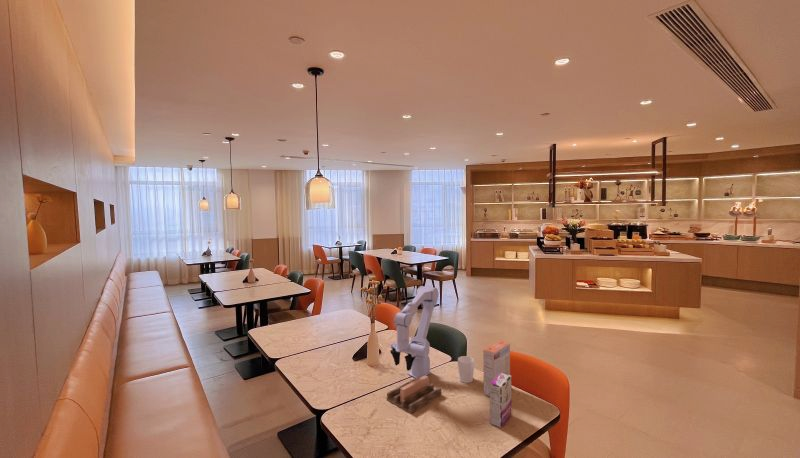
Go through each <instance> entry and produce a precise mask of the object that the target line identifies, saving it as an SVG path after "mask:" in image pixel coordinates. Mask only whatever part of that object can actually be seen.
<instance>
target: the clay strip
mask: <svg viewBox="0 0 800 458" xmlns="http://www.w3.org/2000/svg"><path fill="white" fill-rule="evenodd" d="M427 386H429V376H428V375H425V376H423V377H421V378H419V379H417V380H415V381H413V382H411V383H409V384H407V385H406V386H404V387H402V388H400V402H401V401H402V400H404V399H406V398H407V397H409V396H411V395H413V394H414V393H416V392H418V391H420V390H422V389H423V388H425V387H427Z"/></svg>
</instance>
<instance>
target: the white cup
mask: <svg viewBox="0 0 800 458" xmlns="http://www.w3.org/2000/svg"><path fill="white" fill-rule="evenodd" d="M457 370H458V371H457V374H458V381H460V382H462V383H463V384H464V383H465V384H471V383H472V382H474V371H475V359H474V358H473V357H471V356H467V355H466V356H465V355H463V356H462V355H461V356H458V357H457Z"/></svg>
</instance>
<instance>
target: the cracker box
mask: <svg viewBox="0 0 800 458" xmlns="http://www.w3.org/2000/svg"><path fill="white" fill-rule="evenodd" d="M482 352H483V356H482V358H483V362H482V363H483V395H484V396H487V397H489V398H490V383H491V382H492V381H493V380H494V379H495V378H496V377H497V376H498V375H499V374H500V373H504V374H507V375H511V362H510V361H511V344H510V343H508V342H505V341H502V340H498V341H497V342H495V343H493V344H491V345H490V346H487V347H486V348H483V351H482Z"/></svg>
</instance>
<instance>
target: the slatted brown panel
mask: <svg viewBox="0 0 800 458" xmlns="http://www.w3.org/2000/svg"><path fill="white" fill-rule="evenodd" d="M417 379H419V377H417V378H415V377H414V378H413V379H411V380H409V381H407V382H405V383H404V384H402V385H400V386H398V387H396V388H394V389H392V390H389V391H388V392H386V401H388V402H389V403H391V404H393V405H395V406H396V407H398V408H399V409H402V410H404V411H406V412H407V413H409V414H413V413H414V412H416V411H417V410H419V409H422V408H423V407H424V406H425V405H427V404H429V403H430V402H432V401H434V400H435V399H437V398H439V397H440V396H442V387H441V386H439V387H437V388H436V389H435V384H434V383H431V384H428V386H427V387H425V388H423V389H422V390H420V391H418V392H416V393H414V394H413V395H411V396H409V397H407V398H406V399H404V400H402V401H401V402H400V388H402V387H404V386H406V385H407V384H409V383H411V382H413V381H415V380H417Z"/></svg>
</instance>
